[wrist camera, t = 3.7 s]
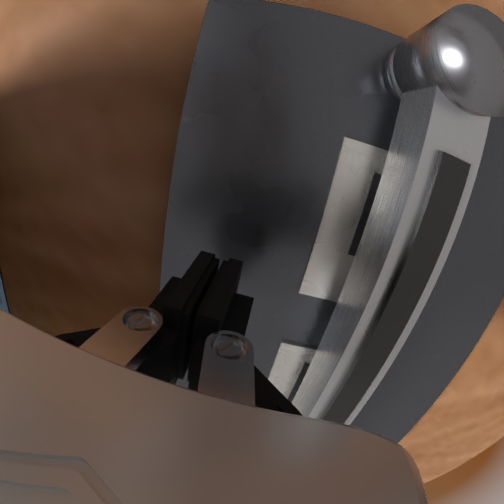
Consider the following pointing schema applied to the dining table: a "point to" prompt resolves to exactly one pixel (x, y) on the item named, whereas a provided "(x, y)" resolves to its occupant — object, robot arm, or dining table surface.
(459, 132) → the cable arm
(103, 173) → the dining table surface
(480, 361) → the dining table surface
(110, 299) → the dining table surface
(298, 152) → the panel
